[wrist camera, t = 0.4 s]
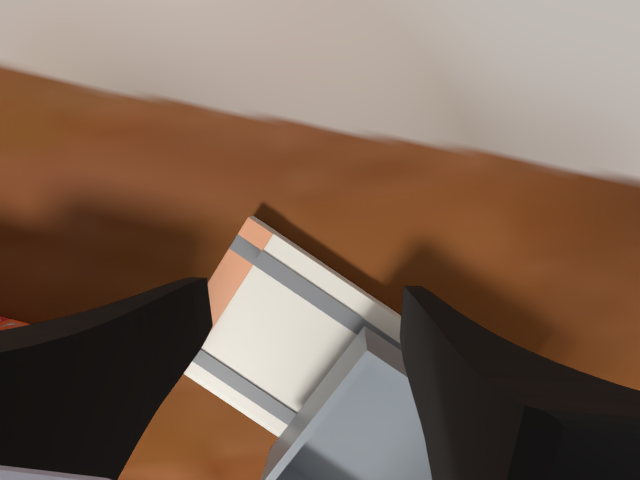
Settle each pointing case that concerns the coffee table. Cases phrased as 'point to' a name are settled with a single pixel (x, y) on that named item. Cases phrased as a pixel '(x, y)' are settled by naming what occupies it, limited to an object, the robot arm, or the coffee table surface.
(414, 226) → the coffee table surface
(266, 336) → the track board
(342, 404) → the grey storage bin
